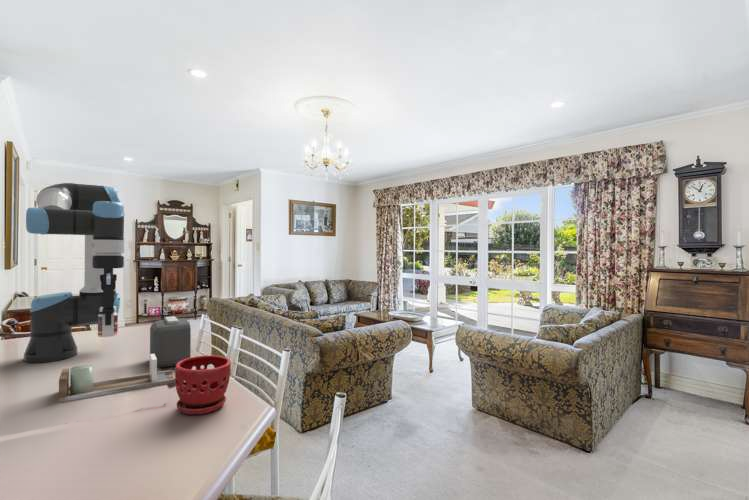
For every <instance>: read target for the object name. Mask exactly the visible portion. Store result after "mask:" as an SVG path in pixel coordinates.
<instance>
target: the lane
mask: <svg viewBox="0 0 749 500" xmlns="http://www.w3.org/2000/svg"><path fill="white" fill-rule="evenodd" d="M172 372H173V370H172V369H170V370H169V369H168V370H162V371H157V374H161V373H165V375H166V377H167V379H166V380H160V381H154V382H151V379H150V372H148V373H144V374H137V375H129V376H124V377H118V378H111V379H105V380H98V381H93V392H89V393H83V394H77V395H70V368H69V367H68V368H62V370H61V372H60V376H59V378H58V403H59V404H60V403H65V402H71V401H77V400H83V399H88V398H89V399H90V398H94V397H101V396H105V395H111V394H116V393H118V394H119V393H124V392H129V391H136V390H142V389H146V388H152V387H153V388H154V387H156V386H157V387H158V386H163V385H166V387H167V388H170V387H176V384H175V377H174V376H173V373H172Z"/></svg>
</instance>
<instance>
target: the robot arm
mask: <svg viewBox="0 0 749 500" xmlns="http://www.w3.org/2000/svg"><path fill="white" fill-rule="evenodd" d="M35 201H36V204H37V206H38V207H28V208H27V209H26V212H25V213H26V214H25V227H26V228H25V229H26V231H27V232H28V233H29V234H36V235H41V236H42V235H61V236H63V235H64V236H65V235H68V236H69V235H73V236H84V281H83V282H84V285H83V287H82V288H81V289H79V291H78V292H79V293H78V295H73V293H72V291H67V292H66V291H65V292H57V293H56V292H55V293H51V294H44V295H40V296H37V297H34V298H33V299H32V300H31V301H30V309H29V312H30V338H29V341H28V343H27V346H26V348H25V351H24V353H23V362H25V363H31V364H32V363H34V364H37V363H48V362H55V361H61V360H66V359H69V358H72V357H75V356H77V355H78V345H77V343H76V341H75V339H74V336H73V334H72V333H73V331H72V329H73V327H80V326H91V325H92V326H93V325H98V315H99V314H102V337H101V338H109V337H114V313H113V312H114V306H116V311H115V312H116V313H117V314H118V315H119V312H120V307H121V293H118V292H117V289H116V287H117V286H116V283H117V282H116V281H117V280H118V279H117V278H118V277H117V274H115V273H114V269H122V268H124V265H125V257H124V255H123V254H125V238H124V235H125V215H126V213H125V205H124V204H123V203H121V198H120V193H119V191H118V190H117V188H116V187H113V186H105V185H98V184H97V185H96V184H85V183H83V184H82V183H74V182H63V183H62V182H61V183H56V184H53V185H49V186H46V187H44V188H43V189H41V190H40V191H39V193H38V194H37V197H36V200H35ZM100 307H103V310H102V312H100Z"/></svg>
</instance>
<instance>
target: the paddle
mask: <svg viewBox="0 0 749 500" xmlns="http://www.w3.org/2000/svg"><path fill="white" fill-rule="evenodd" d="M157 372H158V366H157V358H156V356H155V354H150V353H149V373H150V379H151V382H154V381H160V380H166V379H167V377H166V375H165V373H161V374H157Z"/></svg>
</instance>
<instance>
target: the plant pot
mask: <svg viewBox="0 0 749 500" xmlns="http://www.w3.org/2000/svg"><path fill="white" fill-rule="evenodd" d="M209 365H212V366H213V367H214V368H208V367H209ZM202 366H203V368H201V367H202ZM231 366H232V362H231V359H229V358H228V357H225V356H220V355H199V356H197V355H196V356H190V358H187V359H184V360H181V361H180V362H178V363H177V364H176V365H175V369H174V370H175V371H174V374H175V375H174V376H175V377H174V378H175V384H176V386H175V389H176V393H177V397H178V398H179V399H178V400H177V402H176V408H177V409H178V410H179V411H180V412H181V413H183V414H186V415H203V414H208V413H212V412H214V411H216V410H218V409H220V408H222V407H223V406H224V404H225V403H226V401H227V398H226V396H225V394H226V392H227V389H228V387H229V382H230V379H231V370H232V369H231ZM193 367H195V369H192V368H193Z"/></svg>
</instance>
